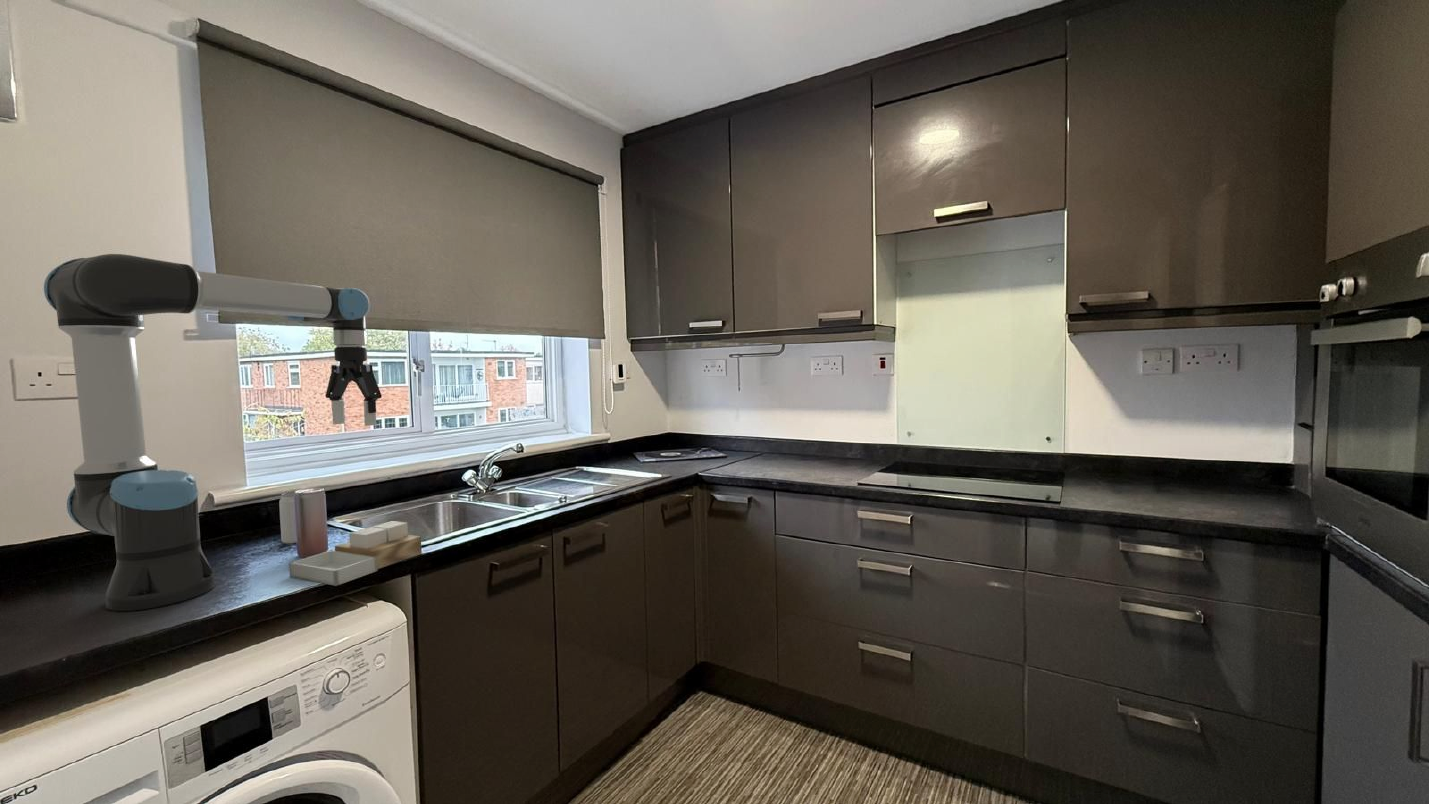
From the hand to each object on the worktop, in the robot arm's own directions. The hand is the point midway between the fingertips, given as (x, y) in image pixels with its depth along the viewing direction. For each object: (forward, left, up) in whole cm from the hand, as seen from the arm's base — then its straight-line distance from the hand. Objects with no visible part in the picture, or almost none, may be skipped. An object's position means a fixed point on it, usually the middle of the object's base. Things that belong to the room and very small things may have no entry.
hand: (354, 424), depth 159 cm
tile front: (-21, -32, -24) cm, 45 cm away
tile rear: (-16, -32, -24) cm, 43 cm away
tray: (-29, -32, -28) cm, 51 cm away
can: (-16, +1, -28) cm, 32 cm away
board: (-19, -32, -28) cm, 46 cm away
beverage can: (-22, -14, -28) cm, 38 cm away
